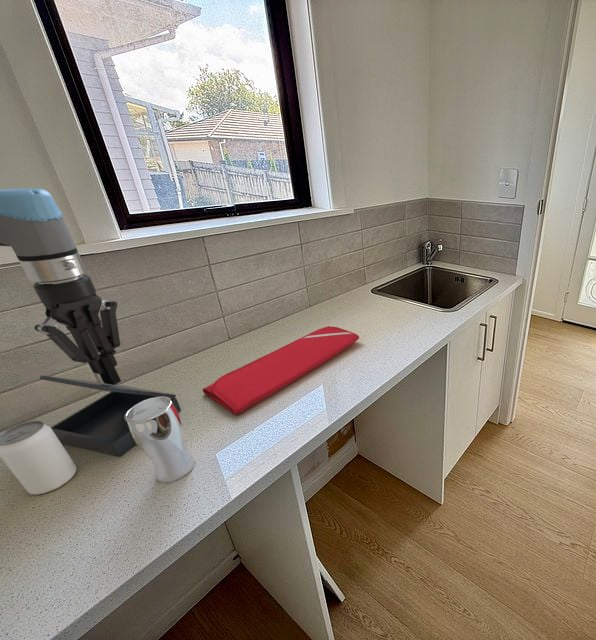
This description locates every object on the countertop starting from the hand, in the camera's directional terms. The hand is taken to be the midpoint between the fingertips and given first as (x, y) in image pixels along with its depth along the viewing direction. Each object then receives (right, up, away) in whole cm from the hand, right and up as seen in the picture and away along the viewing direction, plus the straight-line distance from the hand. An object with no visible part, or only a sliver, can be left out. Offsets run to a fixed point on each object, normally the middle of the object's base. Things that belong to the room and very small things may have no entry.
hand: (112, 382), depth 72 cm
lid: (0, -2, 0) cm, 2 cm away
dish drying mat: (+29, 0, +24) cm, 38 cm away
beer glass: (+20, -16, -8) cm, 26 cm away
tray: (0, -10, +3) cm, 11 cm away
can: (-1, -17, -10) cm, 19 cm away
